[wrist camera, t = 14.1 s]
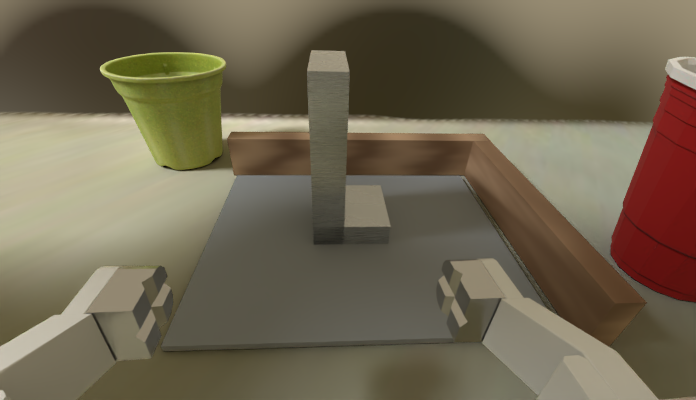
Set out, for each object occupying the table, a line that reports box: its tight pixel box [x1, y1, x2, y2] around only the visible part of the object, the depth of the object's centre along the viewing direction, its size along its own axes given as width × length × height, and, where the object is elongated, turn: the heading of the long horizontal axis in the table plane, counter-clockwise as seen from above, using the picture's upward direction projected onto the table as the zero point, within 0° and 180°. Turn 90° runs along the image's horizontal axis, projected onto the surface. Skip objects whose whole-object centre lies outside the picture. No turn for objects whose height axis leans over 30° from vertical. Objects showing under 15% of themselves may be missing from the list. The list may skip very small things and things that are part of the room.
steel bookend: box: [307, 50, 391, 245], centre depth 21 cm, size 5×5×11 cm
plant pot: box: [100, 52, 226, 170], centre depth 30 cm, size 9×9×9 cm
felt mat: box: [161, 175, 547, 351], centre depth 23 cm, size 20×16×1 cm
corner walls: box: [227, 132, 647, 347], centre depth 23 cm, size 23×19×4 cm
